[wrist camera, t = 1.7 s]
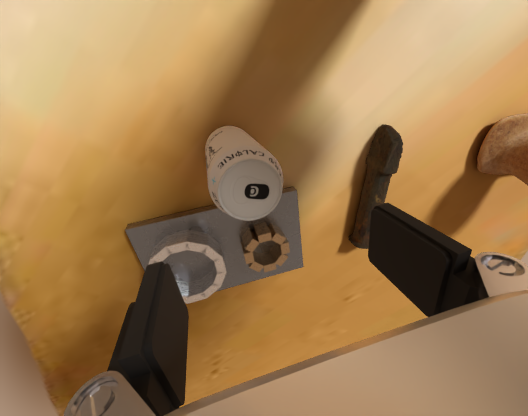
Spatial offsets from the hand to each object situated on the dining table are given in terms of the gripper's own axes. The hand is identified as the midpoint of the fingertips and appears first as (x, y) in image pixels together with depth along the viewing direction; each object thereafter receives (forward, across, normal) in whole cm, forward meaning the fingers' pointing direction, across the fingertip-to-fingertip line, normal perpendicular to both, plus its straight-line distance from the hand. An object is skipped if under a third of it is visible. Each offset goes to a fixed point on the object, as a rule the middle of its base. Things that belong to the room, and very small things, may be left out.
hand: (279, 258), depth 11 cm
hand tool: (+23, -20, +10) cm, 32 cm away
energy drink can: (+23, 0, 0) cm, 23 cm away
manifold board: (+23, +3, +14) cm, 27 cm away
